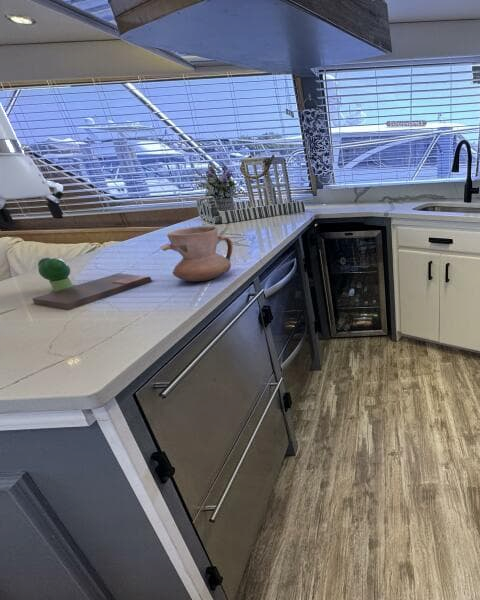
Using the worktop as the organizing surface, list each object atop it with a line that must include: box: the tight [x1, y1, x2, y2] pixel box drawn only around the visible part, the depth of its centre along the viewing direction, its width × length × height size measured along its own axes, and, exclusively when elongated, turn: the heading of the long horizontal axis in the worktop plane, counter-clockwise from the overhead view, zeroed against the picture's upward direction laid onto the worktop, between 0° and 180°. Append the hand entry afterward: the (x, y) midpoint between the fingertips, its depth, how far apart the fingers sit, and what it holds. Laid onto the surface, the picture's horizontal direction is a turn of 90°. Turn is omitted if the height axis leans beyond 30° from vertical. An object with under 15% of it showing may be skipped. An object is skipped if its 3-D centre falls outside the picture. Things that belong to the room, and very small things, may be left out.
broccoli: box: [37, 257, 74, 292], centre depth 89 cm, size 6×7×9 cm
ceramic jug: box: [160, 225, 234, 283], centre depth 93 cm, size 18×14×14 cm
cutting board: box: [31, 272, 153, 310], centre depth 87 cm, size 20×14×2 cm
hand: (35, 221), depth 84 cm, fingers open, 9 cm apart
